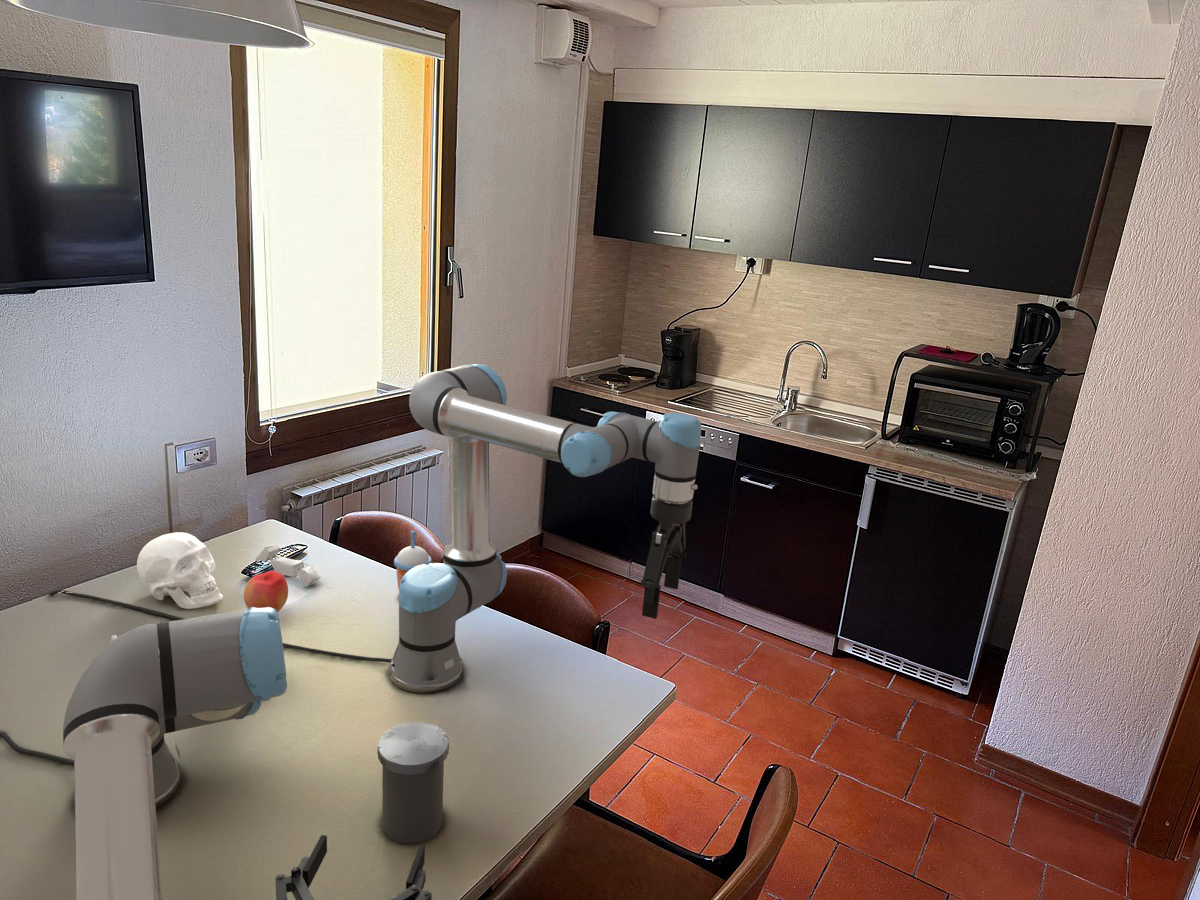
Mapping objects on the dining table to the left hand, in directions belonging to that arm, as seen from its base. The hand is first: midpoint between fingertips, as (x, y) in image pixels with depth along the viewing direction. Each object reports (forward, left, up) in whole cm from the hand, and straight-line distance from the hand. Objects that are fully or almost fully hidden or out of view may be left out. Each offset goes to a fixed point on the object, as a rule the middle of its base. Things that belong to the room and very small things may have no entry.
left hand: (373, 848), depth 117 cm
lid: (0, +21, +2) cm, 21 cm away
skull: (-74, +86, -13) cm, 114 cm away
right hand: (+38, +55, +14) cm, 68 cm away
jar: (0, +21, -13) cm, 25 cm away
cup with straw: (-22, +97, -13) cm, 100 cm away
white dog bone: (-56, +102, -13) cm, 117 cm away
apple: (-52, +82, -13) cm, 98 cm away
